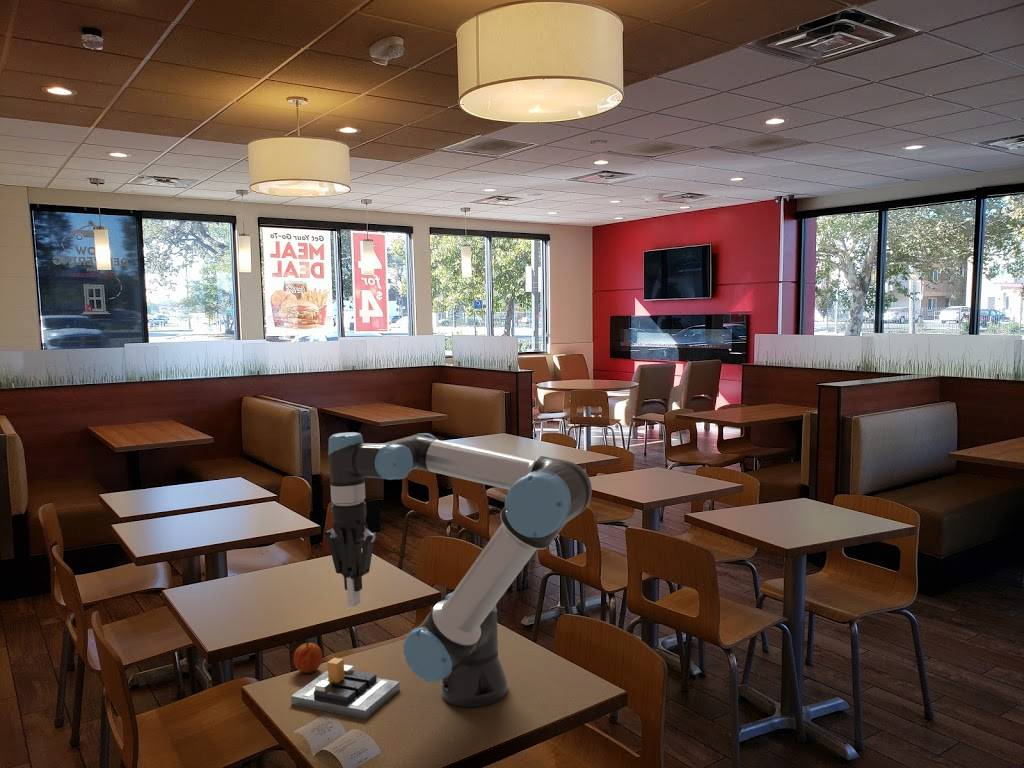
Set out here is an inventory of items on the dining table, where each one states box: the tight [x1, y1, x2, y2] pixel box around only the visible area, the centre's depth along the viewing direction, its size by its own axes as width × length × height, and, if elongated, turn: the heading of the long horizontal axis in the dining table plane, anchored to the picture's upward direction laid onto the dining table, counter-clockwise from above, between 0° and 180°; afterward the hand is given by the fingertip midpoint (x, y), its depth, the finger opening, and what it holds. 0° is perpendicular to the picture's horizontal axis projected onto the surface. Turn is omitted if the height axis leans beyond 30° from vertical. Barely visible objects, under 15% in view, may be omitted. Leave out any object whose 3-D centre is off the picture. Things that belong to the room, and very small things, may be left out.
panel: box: [290, 664, 401, 720], centre depth 173 cm, size 20×14×5 cm
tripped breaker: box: [327, 657, 345, 683], centre depth 174 cm, size 3×3×4 cm
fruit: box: [293, 640, 323, 674], centre depth 187 cm, size 7×7×8 cm
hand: (354, 604), depth 170 cm, fingers closed
